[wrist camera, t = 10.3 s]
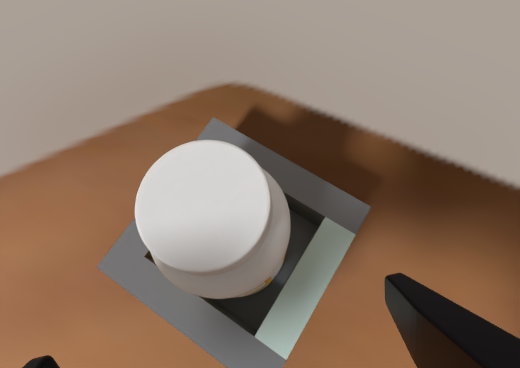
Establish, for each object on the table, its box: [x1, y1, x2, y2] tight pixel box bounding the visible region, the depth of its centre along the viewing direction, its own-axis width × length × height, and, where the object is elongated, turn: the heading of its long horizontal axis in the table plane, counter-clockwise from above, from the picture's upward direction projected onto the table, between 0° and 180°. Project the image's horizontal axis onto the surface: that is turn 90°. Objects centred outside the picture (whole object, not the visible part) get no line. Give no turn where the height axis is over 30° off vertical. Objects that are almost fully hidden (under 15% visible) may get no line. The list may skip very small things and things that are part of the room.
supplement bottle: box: [135, 140, 290, 299], centre depth 14 cm, size 5×5×10 cm
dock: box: [97, 117, 371, 368], centre depth 17 cm, size 10×10×4 cm
